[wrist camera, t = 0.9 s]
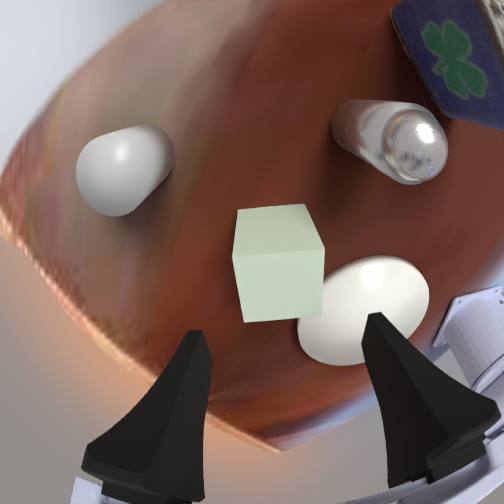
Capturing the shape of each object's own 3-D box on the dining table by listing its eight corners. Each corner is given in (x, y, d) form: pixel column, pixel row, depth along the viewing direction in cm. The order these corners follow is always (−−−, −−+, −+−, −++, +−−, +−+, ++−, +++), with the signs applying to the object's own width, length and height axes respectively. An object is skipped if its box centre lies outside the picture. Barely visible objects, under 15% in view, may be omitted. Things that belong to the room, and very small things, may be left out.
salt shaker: (379, 101, 14) (467, 113, 7) (380, 152, 16) (460, 197, 9) (328, 98, 14) (394, 100, 7) (331, 152, 16) (391, 199, 9)
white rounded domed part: (168, 117, 15) (137, 124, 11) (180, 181, 17) (156, 210, 13) (110, 133, 15) (67, 148, 11) (123, 191, 17) (89, 221, 13)
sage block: (304, 203, 18) (324, 248, 13) (305, 259, 20) (320, 315, 15) (238, 209, 18) (232, 257, 13) (246, 265, 21) (244, 322, 16)
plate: (437, 248, 20) (444, 255, 19) (405, 345, 26) (408, 352, 25) (295, 263, 20) (298, 272, 19) (296, 363, 27) (297, 372, 26)
